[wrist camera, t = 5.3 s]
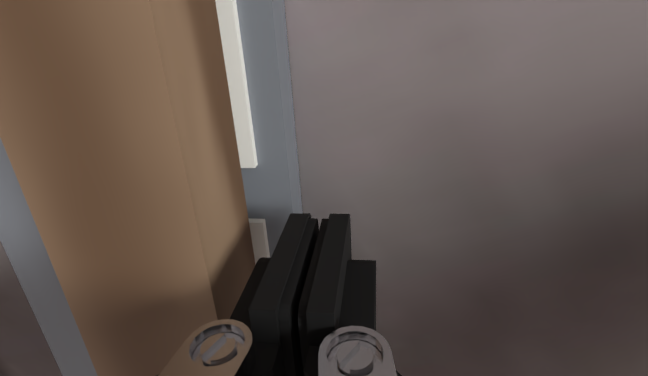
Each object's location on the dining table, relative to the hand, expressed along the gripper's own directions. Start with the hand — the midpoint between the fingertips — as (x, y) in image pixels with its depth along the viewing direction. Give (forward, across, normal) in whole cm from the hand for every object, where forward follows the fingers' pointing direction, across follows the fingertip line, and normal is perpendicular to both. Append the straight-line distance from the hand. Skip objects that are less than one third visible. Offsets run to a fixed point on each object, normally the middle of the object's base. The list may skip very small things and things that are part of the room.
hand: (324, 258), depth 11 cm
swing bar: (+1, +4, -6) cm, 7 cm away
